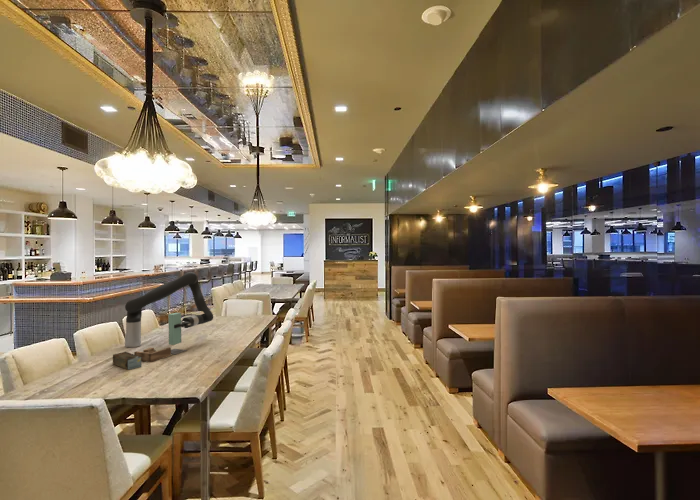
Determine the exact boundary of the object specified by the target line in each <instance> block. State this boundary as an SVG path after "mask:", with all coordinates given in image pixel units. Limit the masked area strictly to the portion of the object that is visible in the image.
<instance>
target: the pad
mask: <svg viewBox="0 0 700 500" xmlns="http://www.w3.org/2000/svg"><path fill="white" fill-rule="evenodd" d="M187 351H188V349H182V348H181V349H180V348H171V355H176V356H177V355H179V354H181V353H185V352H187Z"/></svg>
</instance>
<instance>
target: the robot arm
mask: <svg viewBox="0 0 700 500" xmlns="http://www.w3.org/2000/svg"><path fill="white" fill-rule="evenodd" d="M187 286H188V287H189V288H190V290H191V293H192V297H193V300H194V303H195V306H196V309H197V311H198V312H203V313H201V314H196V315H189V316H185V317H183V318H181V323H180V324H176V325H174V328H178V327H181V328H183V329H189V328H192V327H195V326H197V325H198V326H199V325H203V324H206V323H209V322H212V321H213V320H214V314H213V312H212V311H211V309H210V308H209V306H208V304H207V302H206V299H205V297H204V295H203V293H202V290H201V288H200V283H199V276H198V275H197V273H196V272H194V271H188V272H186V273H184V274H183V275H181V276H179V277H178V278H176V279H173V280H171V281H168V282H166V283H163V284H161V285H159V286H157V287H155V288H153V289H151V290H150V291H148V292H147V293H145V294H144V295H141V296H139V297H136V298H131V299H130V300H128V301H127V302H126V303H125V306H124V309H125V311H126V318H125V334H124V348H136V347H140V346H141V345H142V315H143V312H142V311H143V308H145V307H146V306H148V305H151V304H153V303H156V302H159V301H161V300H164V299H165V298H168V297H169V296H171V295H173V294H174V293H176V292H177V291H179V290H181V289H183V288H185V287H187Z"/></svg>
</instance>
